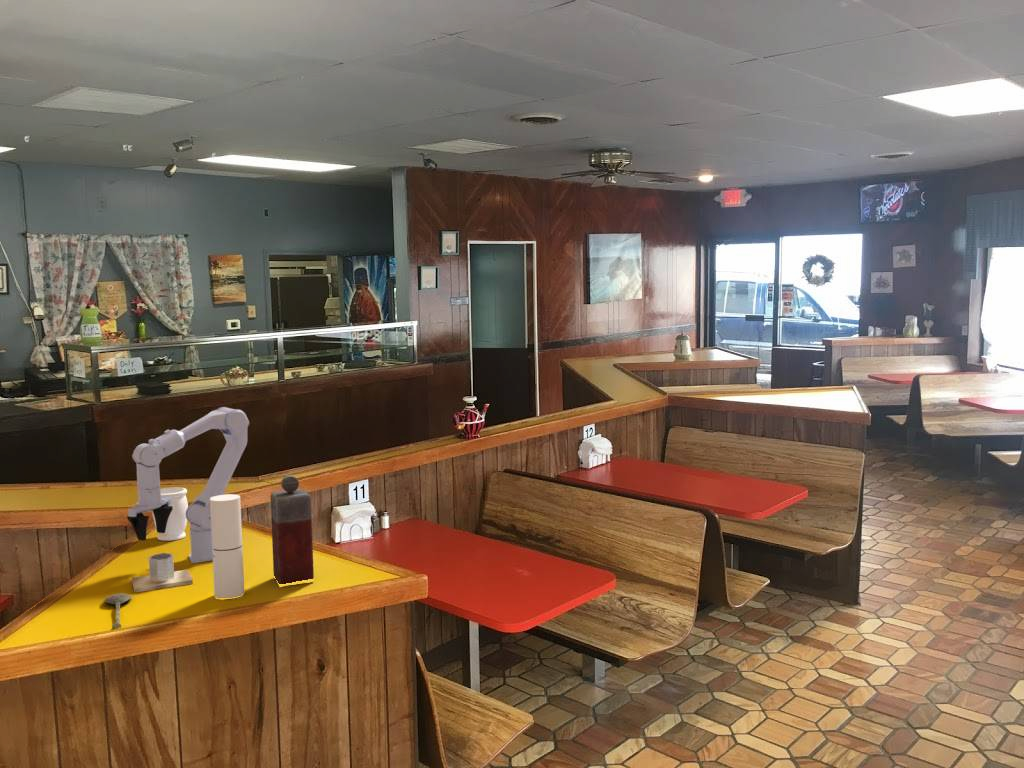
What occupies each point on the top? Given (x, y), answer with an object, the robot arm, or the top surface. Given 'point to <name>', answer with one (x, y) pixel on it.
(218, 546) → the cylindrical container
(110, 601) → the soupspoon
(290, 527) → the ball-stopper bottle
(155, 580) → the collar
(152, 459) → the robot arm
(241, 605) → the top surface
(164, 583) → the board
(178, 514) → the jar
